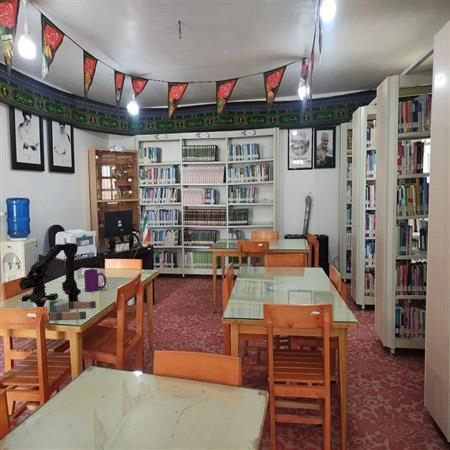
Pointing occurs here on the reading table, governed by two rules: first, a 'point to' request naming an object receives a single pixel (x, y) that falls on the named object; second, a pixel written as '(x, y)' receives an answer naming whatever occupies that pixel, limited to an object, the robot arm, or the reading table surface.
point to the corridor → (73, 314)
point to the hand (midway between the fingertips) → (40, 311)
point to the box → (59, 306)
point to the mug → (93, 280)
